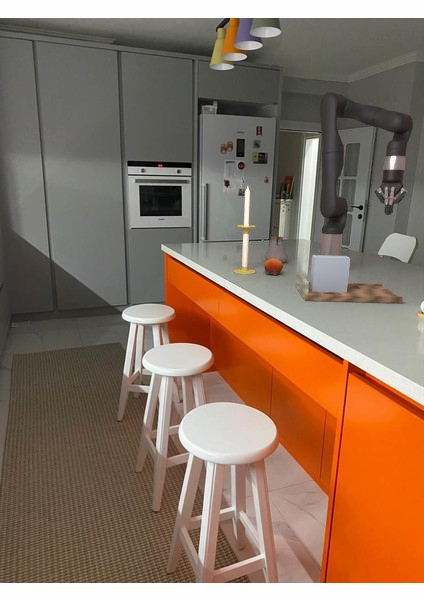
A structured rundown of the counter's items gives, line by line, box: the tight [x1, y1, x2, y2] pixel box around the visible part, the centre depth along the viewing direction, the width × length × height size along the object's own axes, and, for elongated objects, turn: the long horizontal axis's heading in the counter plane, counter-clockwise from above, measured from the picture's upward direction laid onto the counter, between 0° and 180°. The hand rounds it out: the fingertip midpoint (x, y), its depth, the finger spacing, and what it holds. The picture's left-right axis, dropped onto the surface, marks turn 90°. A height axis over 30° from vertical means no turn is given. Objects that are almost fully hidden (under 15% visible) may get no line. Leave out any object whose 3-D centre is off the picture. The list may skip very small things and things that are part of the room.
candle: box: [232, 185, 257, 275], centre depth 183 cm, size 10×10×38 cm
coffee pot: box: [264, 235, 288, 265], centre depth 206 cm, size 21×12×15 cm, turn 172°
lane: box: [295, 271, 404, 305], centre depth 149 cm, size 32×20×6 cm, turn 88°
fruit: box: [264, 259, 284, 276], centre depth 183 cm, size 8×8×8 cm
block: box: [309, 254, 351, 292], centre depth 148 cm, size 12×5×12 cm, turn 88°
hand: (388, 214), depth 167 cm, fingers closed
